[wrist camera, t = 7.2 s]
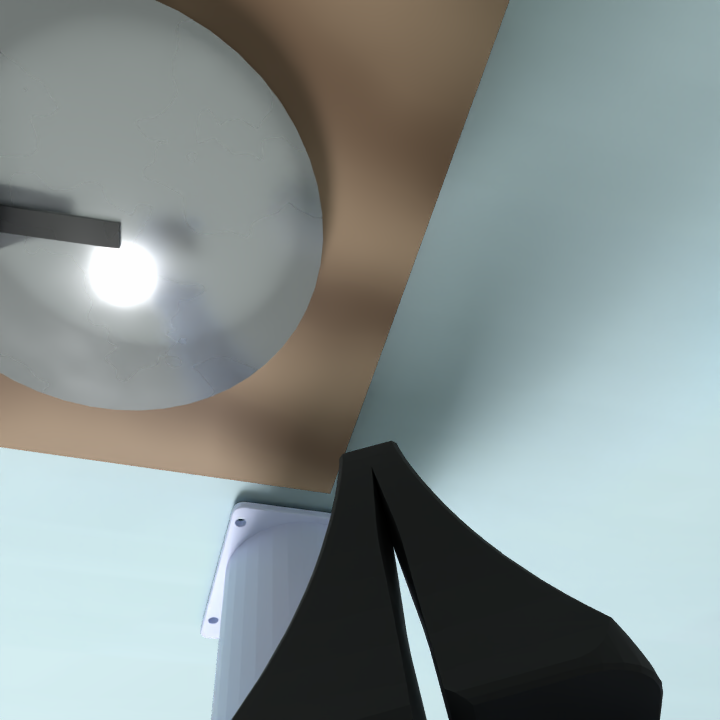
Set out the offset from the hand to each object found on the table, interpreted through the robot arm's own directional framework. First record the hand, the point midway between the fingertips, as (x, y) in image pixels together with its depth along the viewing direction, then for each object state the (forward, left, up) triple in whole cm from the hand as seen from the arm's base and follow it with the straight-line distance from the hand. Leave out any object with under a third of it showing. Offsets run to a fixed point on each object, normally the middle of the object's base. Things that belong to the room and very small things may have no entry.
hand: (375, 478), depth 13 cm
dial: (+2, +8, -9) cm, 12 cm away
